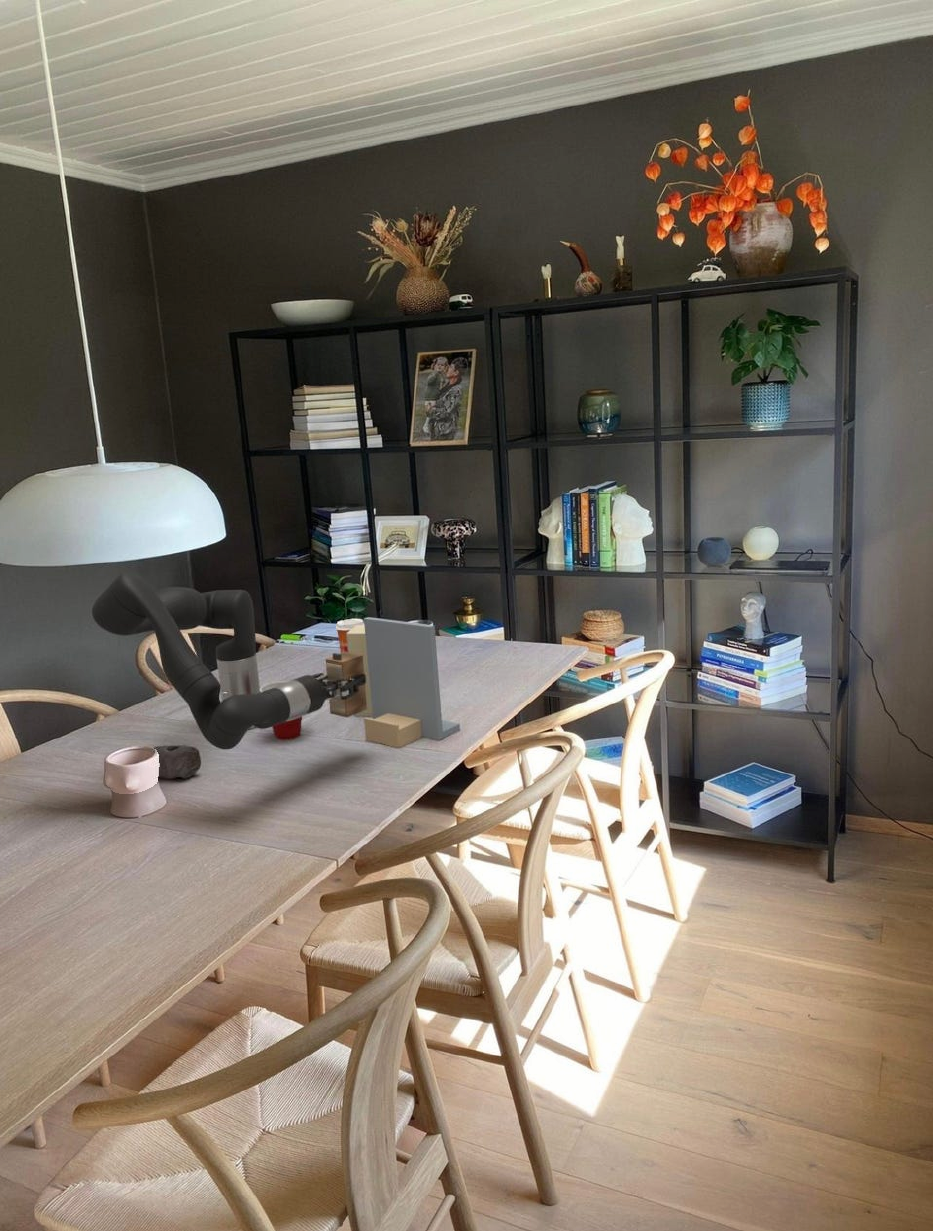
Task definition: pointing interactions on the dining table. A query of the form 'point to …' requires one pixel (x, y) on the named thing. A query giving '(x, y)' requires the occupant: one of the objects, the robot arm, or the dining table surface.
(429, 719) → the wall board
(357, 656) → the walnut cabinet
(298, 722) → the plastic cup
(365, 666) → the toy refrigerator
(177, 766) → the perforated stone tool
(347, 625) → the coffee cup
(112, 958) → the dining table surface
